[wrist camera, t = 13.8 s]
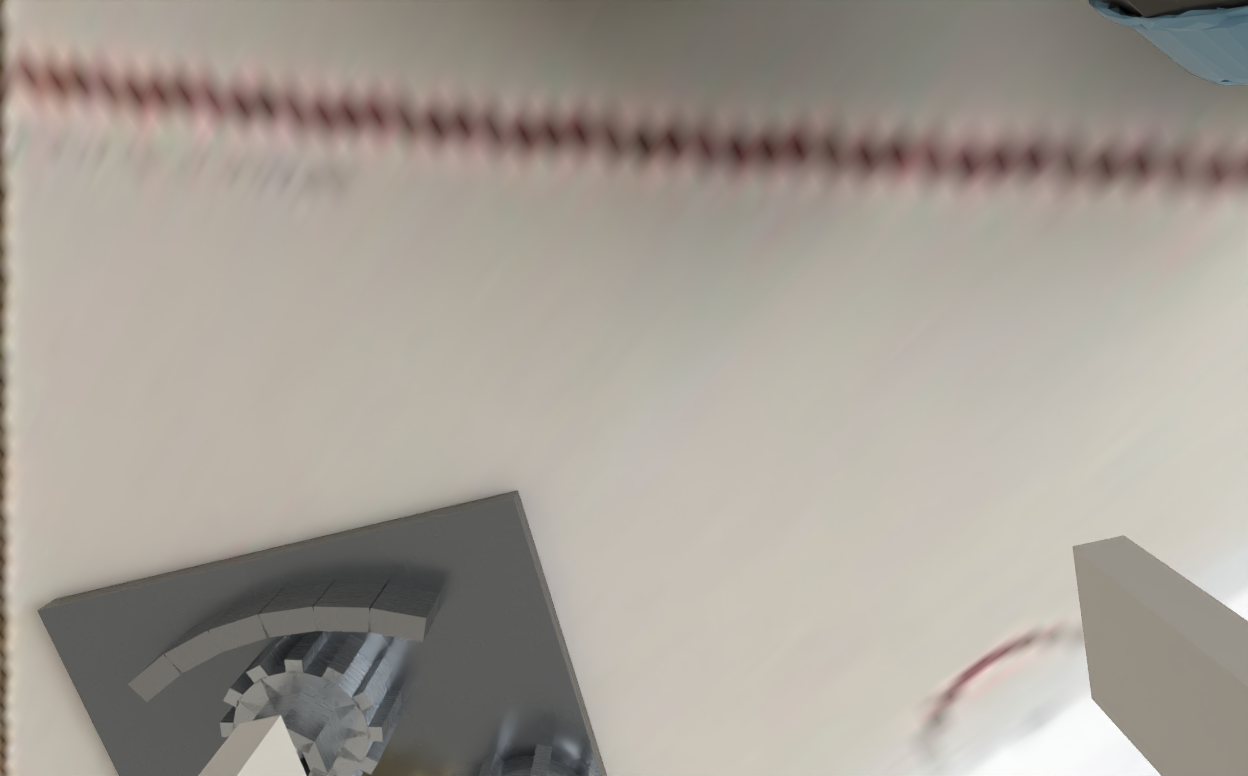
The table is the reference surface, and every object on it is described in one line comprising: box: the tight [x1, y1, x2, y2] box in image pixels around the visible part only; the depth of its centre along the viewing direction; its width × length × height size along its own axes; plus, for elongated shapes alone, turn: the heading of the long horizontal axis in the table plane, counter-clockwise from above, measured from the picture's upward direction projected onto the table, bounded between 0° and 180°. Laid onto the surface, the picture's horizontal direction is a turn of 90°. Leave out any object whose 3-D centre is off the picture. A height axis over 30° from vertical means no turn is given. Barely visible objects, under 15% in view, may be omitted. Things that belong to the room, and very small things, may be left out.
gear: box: [220, 631, 401, 776], centre depth 39 cm, size 9×9×6 cm
